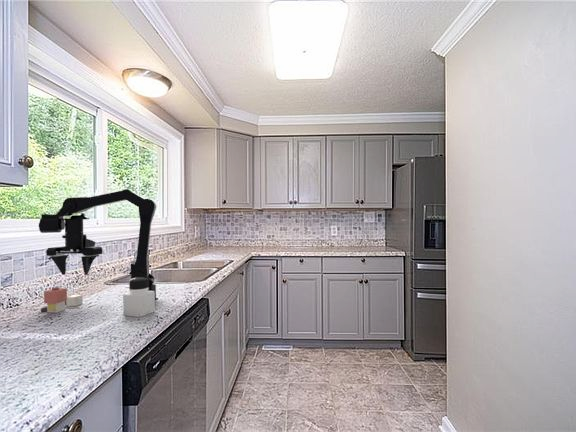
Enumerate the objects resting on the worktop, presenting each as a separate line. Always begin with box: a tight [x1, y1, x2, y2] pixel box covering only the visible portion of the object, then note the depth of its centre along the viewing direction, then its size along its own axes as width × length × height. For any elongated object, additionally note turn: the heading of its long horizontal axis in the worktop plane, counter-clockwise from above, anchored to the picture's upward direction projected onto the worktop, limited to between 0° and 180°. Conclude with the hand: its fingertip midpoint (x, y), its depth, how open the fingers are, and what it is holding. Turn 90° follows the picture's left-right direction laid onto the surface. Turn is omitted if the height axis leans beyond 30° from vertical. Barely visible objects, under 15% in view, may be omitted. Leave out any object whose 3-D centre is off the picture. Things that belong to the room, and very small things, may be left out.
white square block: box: [65, 294, 84, 307], centre depth 123 cm, size 4×4×3 cm
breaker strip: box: [40, 301, 80, 313], centre depth 119 cm, size 10×15×3 cm, turn 172°
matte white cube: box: [46, 301, 66, 314], centre depth 115 cm, size 4×4×3 cm
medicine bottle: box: [122, 277, 156, 318], centre depth 115 cm, size 7×7×12 cm
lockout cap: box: [43, 286, 68, 304], centre depth 115 cm, size 4×4×5 cm
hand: (75, 274), depth 125 cm, fingers open, 9 cm apart
